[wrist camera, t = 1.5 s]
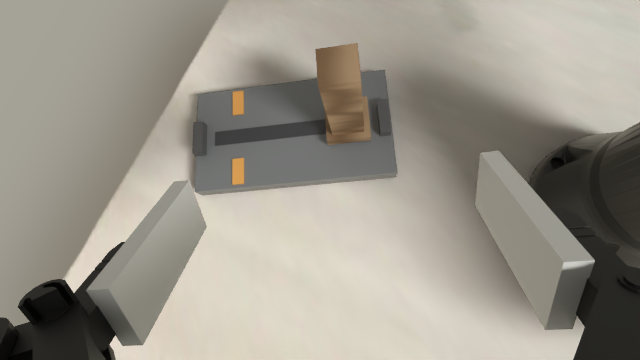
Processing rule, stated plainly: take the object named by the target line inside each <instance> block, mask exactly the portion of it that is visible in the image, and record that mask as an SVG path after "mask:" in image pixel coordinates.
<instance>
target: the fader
mask: <svg viewBox="0 0 640 360" xmlns="http://www.w3.org/2000/svg"><path fill="white" fill-rule="evenodd" d="M316 62H317V77H318V88H319V91H320V95H321V98H322V101H323V105H324V108H325V122H326V137H327V143H328V145H334V144H343V143H352V142H362V141H371V130H370V120H369V111H368V101H367V96H365V97H362V86H361V74H360V64H359V54H358V45H357V43H356V44H349V45H342V46H335V47H328V48H321V49H316Z"/></svg>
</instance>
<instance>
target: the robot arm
mask: <svg viewBox="0 0 640 360" xmlns="http://www.w3.org/2000/svg"><path fill="white" fill-rule="evenodd" d="M475 207H476V208H477V210H478V212H479V214H480V215H481V217H482V219H483V221H484V222H485V224H486V226H487V228H488V229H489V231H490V233H491V235H492V237H493V238H494V240H495V242H496V244H497V245H498V247H499V249H500V251H501V252H502V254H503V256H504V258H505V260H506V261H507V263H508V265H509V267H510V268H511V270H512V272H513V274H514V275H515V277H516V279H517V281H518V283H519V284H520V286H521V288H522V290H523V291H524V293H525V295H526V297H527V298H528V300H529V302H530V304H531V305H532V307H533V309H534V311H535V313H536V314H537V316H538V318H539V320H540V321H541V323H542V325H543V327H544V328H545V330H554V329H573V326H574V322H575V319H576V316H578V318H579V319H580V320H581V322H582V323H583V325H584V326H585V329H584V332H583V334H582V337H581V340H580V343H579V345H578V348H577V351H576V354H575V357H574V359H573V360H640V122H639V123H637V124H636V125H634V126H632V127H630V128H628V129H627V130H625V131H623V132H615V133H606V134H597V135H590V136H586V137H582V138H579V139H576V140H573V141H571V142H569V143H567V144H565V145H563V146H561V147H560V148H558V149H557V150H555V151H554V152H552V153H551V154H549V155H548V156H547V157H546V158H545V159H543V161H542V162H541V163H540V164H539V165H538V166H537V168H536V169H535V171H534V172H533V174H532V176H531V179H530V181H529V184H528V183H527V182H526V181H525V180H524V179H523V178H522V176H521V175H520V174H519V173H518V172H517V171H516V170H515V168H514V167H513V166H512V165H511V164H510V163H509V162H508V160H507V159H506V158H505V157H504V156H503V155H502V154H501V152H500V151H491V152H480V159H479V170H478V180H477V190H476V201H475ZM206 227H207V226H206V224H205V221H204V218H203V216H202V213H201V210H200V208H199V205H198V202H197V199H196V197H195V194H194V191H193V189H192V186H191V183H190V181H189V180H188V181H177V182H173V184H172V185H171V186H170V187H169V189H168V190H167V191H166V192H165V194H164V195H163V196H162V197H161V199H160V200H159V201H158V202H157V203H156V205H155V206H154V207H153V208H152V210H151V211H150V212H149V213H148V215H147V216H146V217H145V218H144V219H143V221H142V222H141V223H140V224H139V226H138V227H137V228H136V229H135V231H134V232H133V233H132V234H131V235H130V237H129V238H128V239H127V240H126V242H121V243H120V244H119V245H117V246H116V247H115V248H113V249H112V250H111V251H109V253H108V254H107V255H106V256H105V257H104V259H103V260H102V262H101V263H99V264H98V266H97V267H96V268H95V271H93V272H92V273H91V274H90V275H89V276H88V278H87V279H86V280H85V281H84V282H83V283H82V285H81V286H80V287H79V288H78V289H77V291H76V292H75V293H73V291H72V290H71V288H70V287H69V286H68V284H67V283H66V281H65V280H62V279H57V280H51V281H48V282H45V283H43V284H41V285H39V286H37V287H35V288H34V289H32V290H31V291H30V292H29V293H27V294H26V295H25V296H24V297H23V298H22V300H21V301H20V303H19V305H18V308H19V309H20V310H21V311H22V313H23V314H24V315H25V316H26V317H27V319H28V320H29V321H30V322H28V323H25V324H21V325H18V326H15V327H14V326H13V325H12V324H11V323H10V321H9V320H8V319H7V318H0V360H116V359H115V355H114V351H113V350H112V348H111V347H110V345H109V344H110V343H111V341H112V339H113V338H114V336H115V335H116V337H117V338H118V340H119V341H120V343H121V344H122V346H131V345H143V344H144V342H145V340H146V338H147V337H148V335H149V333H150V331H151V329H152V327H153V325H154V324H155V322H156V320H157V318H158V316H159V314H160V313H161V311H162V309H163V307H164V305H165V303H166V301H167V300H168V298H169V296H170V294H171V292H172V290H173V288H174V287H175V285H176V283H177V281H178V279H179V277H180V275H181V274H182V272H183V270H184V268H185V266H186V264H187V262H188V261H189V259H190V257H191V255H192V253H193V251H194V249H195V248H196V246H197V244H198V242H199V240H200V238H201V236H202V235H203V233H204V231H205V229H206Z"/></svg>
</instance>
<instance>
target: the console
mask: <svg viewBox="0 0 640 360" xmlns="http://www.w3.org/2000/svg"><path fill="white" fill-rule="evenodd" d="M360 74H361V86H362V97H365V96H367V101H368V111H369V120H370V130H371V141H362V142H352V143H343V144H334V145H328V143H327V137H326V122H325V108H324V105H323V101H322V98H321V95H320V91H319V88H318V79H311V80H303V81H296V82H288V83H281V84H273V85H266V86H258V87H250V88H243V89H235V90H228V91H220V92H213V93H205V94H198V106H197V122H194V129H193V154H195V155H196V168H195V192H196V193H198V194H201V195H211V194H222V193H232V192H243V191H253V190H264V189H275V188H285V187H296V186H306V185H317V184H327V183H338V182H349V181H359V180H370V179H380V178H391V177H396V175H397V166H396V158H395V150H394V142H393V134H392V125H391V117H390V109H389V101H388V93H387V84H386V76H385V70H379V71H371V72H364V73H360Z"/></svg>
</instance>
